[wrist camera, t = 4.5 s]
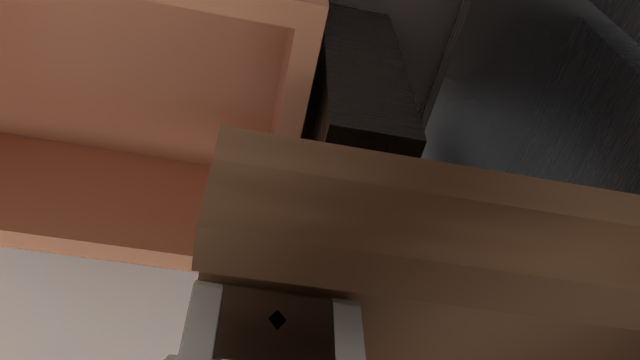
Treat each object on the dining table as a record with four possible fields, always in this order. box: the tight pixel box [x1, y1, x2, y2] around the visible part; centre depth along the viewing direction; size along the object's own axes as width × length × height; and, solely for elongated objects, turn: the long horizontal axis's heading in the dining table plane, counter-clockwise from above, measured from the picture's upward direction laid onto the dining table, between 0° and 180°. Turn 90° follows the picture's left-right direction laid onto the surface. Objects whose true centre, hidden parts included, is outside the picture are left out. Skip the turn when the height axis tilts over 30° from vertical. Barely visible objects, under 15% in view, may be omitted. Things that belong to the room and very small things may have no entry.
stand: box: [301, 0, 640, 195], centre depth 15 cm, size 12×13×10 cm
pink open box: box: [0, 0, 329, 273], centre depth 16 cm, size 10×8×5 cm
